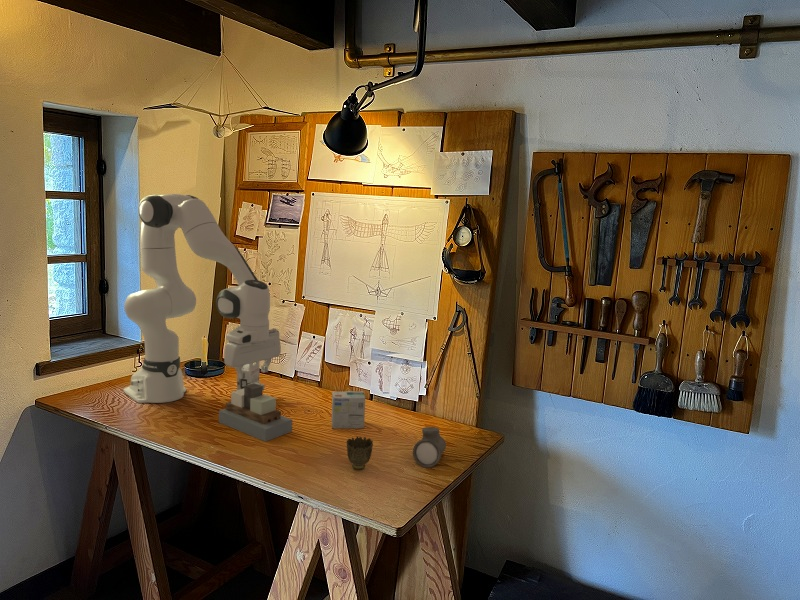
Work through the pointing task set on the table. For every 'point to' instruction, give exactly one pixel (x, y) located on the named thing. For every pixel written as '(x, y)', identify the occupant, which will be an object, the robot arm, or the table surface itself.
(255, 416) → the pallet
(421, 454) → the pipe fitting
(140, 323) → the robot arm
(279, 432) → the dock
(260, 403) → the crate sage
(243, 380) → the ink box
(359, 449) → the cup
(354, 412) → the light bulb box
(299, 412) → the table surface
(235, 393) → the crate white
